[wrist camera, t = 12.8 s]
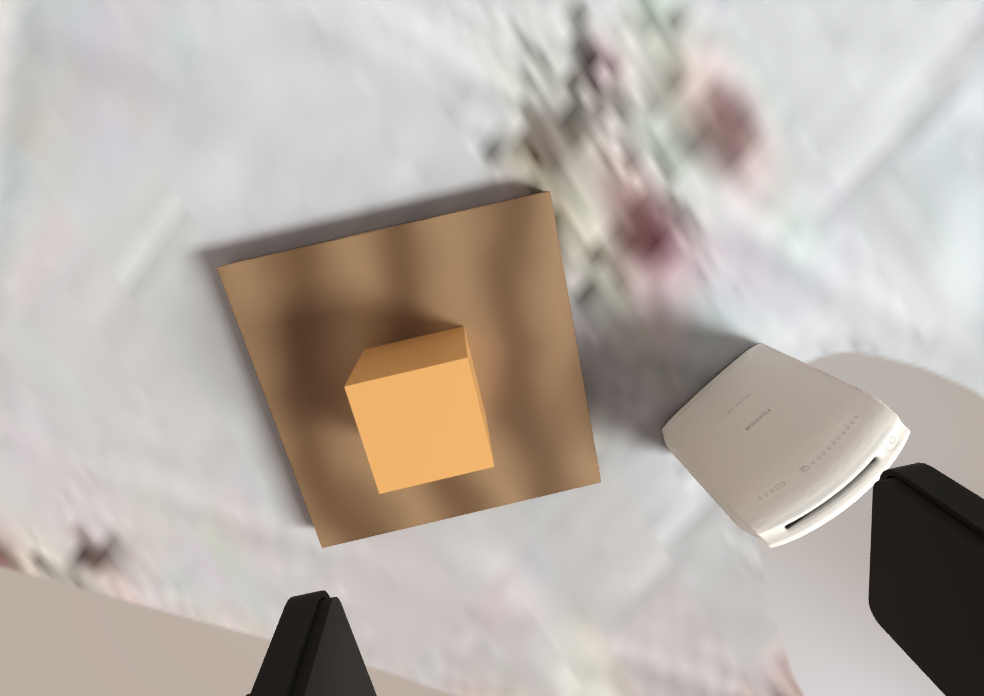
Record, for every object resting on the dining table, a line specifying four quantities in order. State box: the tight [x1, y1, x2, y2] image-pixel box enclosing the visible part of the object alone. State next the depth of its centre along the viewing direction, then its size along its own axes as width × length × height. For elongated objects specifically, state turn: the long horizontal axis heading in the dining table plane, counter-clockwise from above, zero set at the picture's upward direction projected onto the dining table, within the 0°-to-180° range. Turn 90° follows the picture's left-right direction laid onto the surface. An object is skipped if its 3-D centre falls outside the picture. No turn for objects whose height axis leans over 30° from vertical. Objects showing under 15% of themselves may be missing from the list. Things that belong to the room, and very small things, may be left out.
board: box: [217, 191, 601, 548], centre depth 32 cm, size 20×20×7 cm
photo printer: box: [662, 344, 910, 547], centre depth 32 cm, size 10×4×12 cm, turn 134°
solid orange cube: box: [344, 326, 494, 494], centre depth 31 cm, size 6×6×6 cm
